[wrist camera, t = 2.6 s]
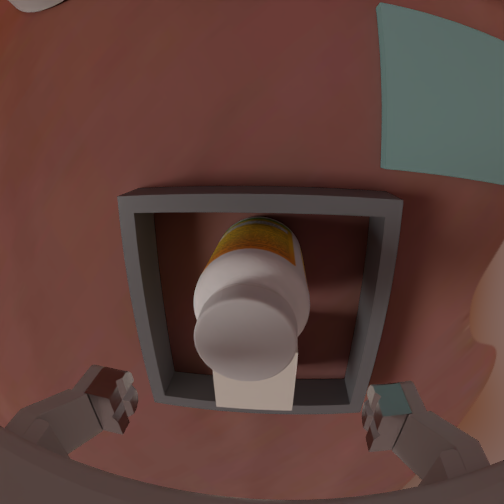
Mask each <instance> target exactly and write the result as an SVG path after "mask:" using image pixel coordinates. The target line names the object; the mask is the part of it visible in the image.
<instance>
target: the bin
mask: <svg viewBox="0 0 504 504" xmlns="http://www.w3.org/2000/svg"><path fill="white" fill-rule="evenodd" d="M117 197H118V208H119V218H120V227H121V236H122V244H123V251H124V258H125V265H126V272H127V278H128V284H129V290H130V296H131V301H132V307H133V312H134V317H135V322H136V327H137V332H138V336H139V341H140V346H141V350H142V354H143V358H144V363H145V367H146V371H147V375H148V379H149V382H150V386H151V390H152V393H153V397H154V401H155V402H157V403H164V404H170V405H177V406H184V407H192V408H200V409H210V410H220V411H232V412H246V413H265V414H336V413H356V412H360V410H361V407H362V404H363V401H364V398H365V394H366V391H367V388H368V384H369V381H370V377H371V374H372V370H373V367H374V363H375V359H376V355H377V351H378V347H379V343H380V339H381V335H382V331H383V326H384V322H385V317H386V312H387V307H388V303H389V297H390V292H391V287H392V281H393V275H394V269H395V263H396V257H397V250H398V243H399V235H400V227H401V219H402V209H403V200H402V199H400V198H398V197H396V196H394V195H392V194H390V193H388V192H386V191H372V190H356V189H338V188H315V187H281V186H190V187H157V188H138V189H135V190H133V191H130V192H127V193H125V194H122V195H120V196H117ZM159 212H243V213H295V214H326V215H351V216H370V219H369V230H368V240H367V249H366V257H365V265H364V273H363V280H362V287H361V294H360V300H359V306H358V312H357V318H356V324H355V330H354V335H353V340H352V345H351V350H350V355H349V360H348V365H347V370H346V374H345V379H295V388H294V397H293V406H292V411H282V410H255V409H239V408H226V407H216V399H215V390H214V380H213V375H203V374H193V373H184V372H175V370H174V365H173V360H172V354H171V348H170V342H169V336H168V330H167V324H166V317H165V310H164V303H163V296H162V289H161V281H160V273H159V264H158V255H157V245H156V235H155V223H154V213H159Z"/></svg>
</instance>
